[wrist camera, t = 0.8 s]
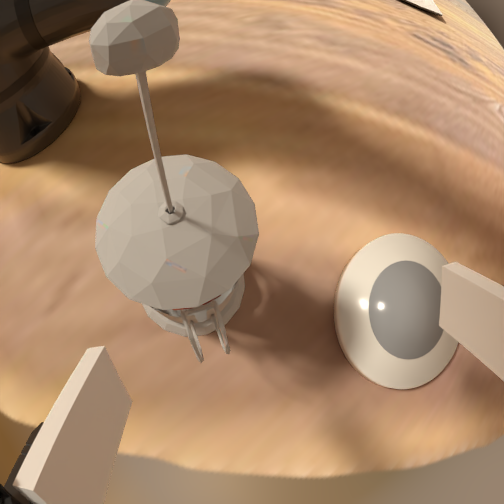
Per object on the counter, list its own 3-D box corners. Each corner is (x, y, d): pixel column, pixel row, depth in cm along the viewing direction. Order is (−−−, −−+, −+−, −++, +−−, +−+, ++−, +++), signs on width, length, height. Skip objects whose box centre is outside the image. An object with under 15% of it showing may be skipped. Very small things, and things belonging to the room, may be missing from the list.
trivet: (335, 227, 31) (341, 221, 30) (451, 248, 33) (459, 244, 31) (327, 390, 26) (334, 392, 25) (452, 382, 28) (461, 382, 26)
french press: (226, 218, 30) (275, -62, 6) (266, 336, 27) (532, 269, 4) (126, 246, 28) (-19, 6, 4) (160, 369, 25) (-76, 463, 1)
